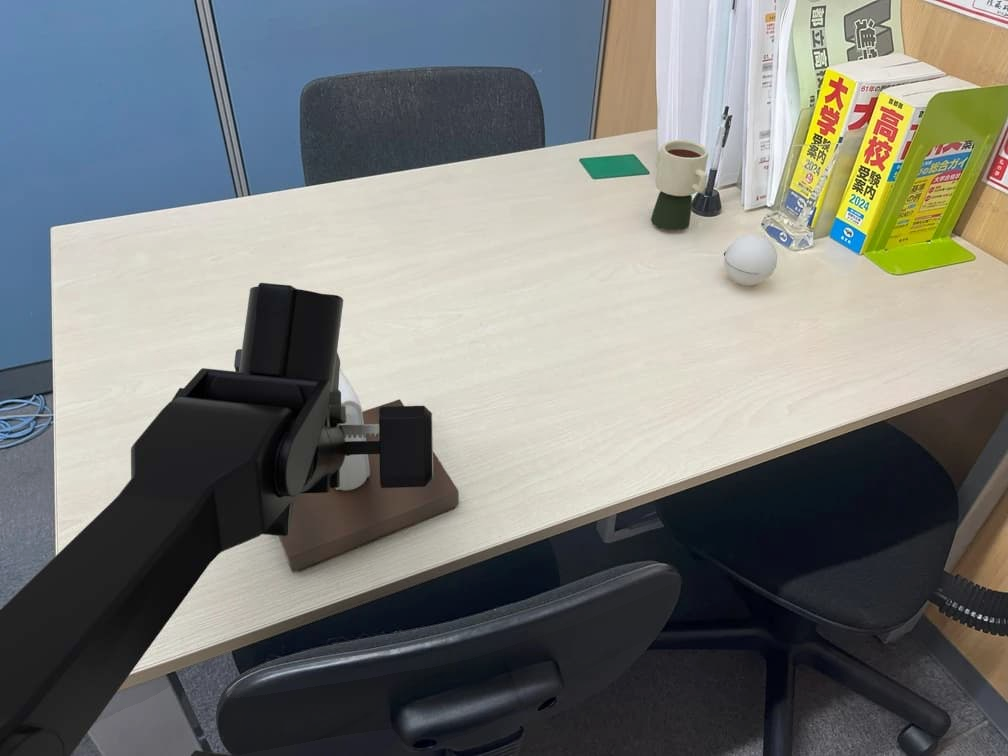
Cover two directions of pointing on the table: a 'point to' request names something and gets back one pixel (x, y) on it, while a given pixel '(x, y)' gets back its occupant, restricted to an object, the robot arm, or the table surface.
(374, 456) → the walnut stand
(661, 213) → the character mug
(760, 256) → the seamed sphere
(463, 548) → the table surface
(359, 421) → the photo printer
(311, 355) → the robot arm
